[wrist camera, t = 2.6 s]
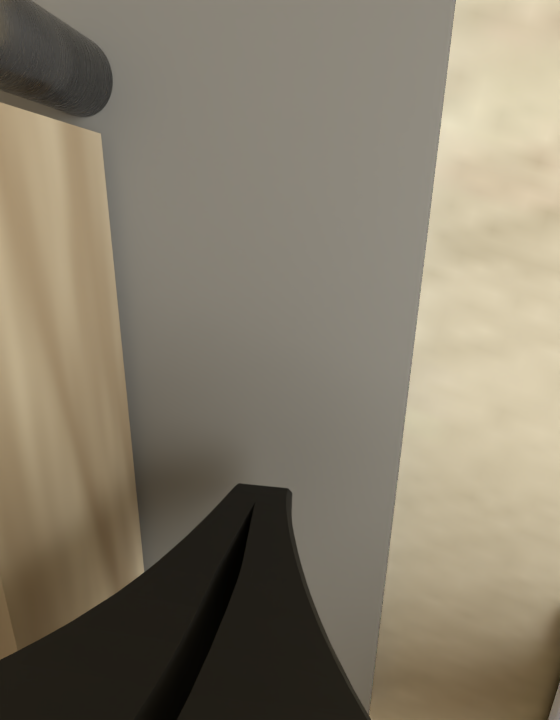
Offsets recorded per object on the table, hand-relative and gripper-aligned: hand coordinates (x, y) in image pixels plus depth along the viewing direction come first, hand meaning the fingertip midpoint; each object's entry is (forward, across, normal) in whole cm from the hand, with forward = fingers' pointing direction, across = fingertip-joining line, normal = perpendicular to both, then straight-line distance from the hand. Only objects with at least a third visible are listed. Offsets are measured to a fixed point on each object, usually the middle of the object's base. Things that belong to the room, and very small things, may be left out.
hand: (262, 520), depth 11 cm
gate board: (+3, +4, -2) cm, 5 cm away
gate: (+1, +5, -2) cm, 5 cm away
